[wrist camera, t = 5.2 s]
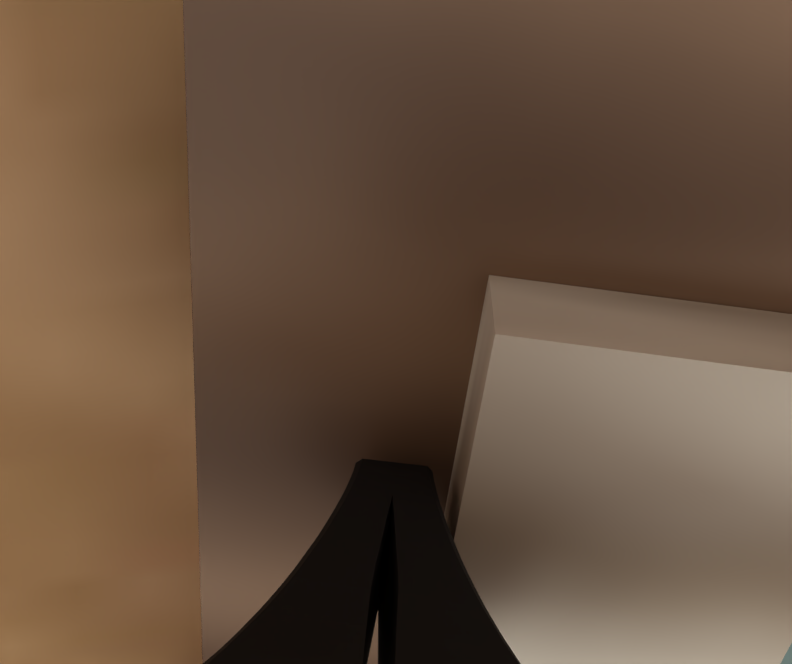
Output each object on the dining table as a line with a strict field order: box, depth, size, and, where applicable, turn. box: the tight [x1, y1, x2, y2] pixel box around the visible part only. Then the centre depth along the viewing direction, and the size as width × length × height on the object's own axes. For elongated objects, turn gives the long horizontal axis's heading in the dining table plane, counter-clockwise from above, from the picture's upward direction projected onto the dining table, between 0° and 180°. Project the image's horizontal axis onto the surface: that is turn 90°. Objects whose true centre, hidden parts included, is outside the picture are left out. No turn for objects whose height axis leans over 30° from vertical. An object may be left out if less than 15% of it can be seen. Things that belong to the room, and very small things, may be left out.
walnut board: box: [183, 0, 792, 664], centre depth 16 cm, size 18×12×4 cm, turn 174°
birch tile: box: [444, 275, 792, 664], centre depth 13 cm, size 9×6×2 cm, turn 174°
